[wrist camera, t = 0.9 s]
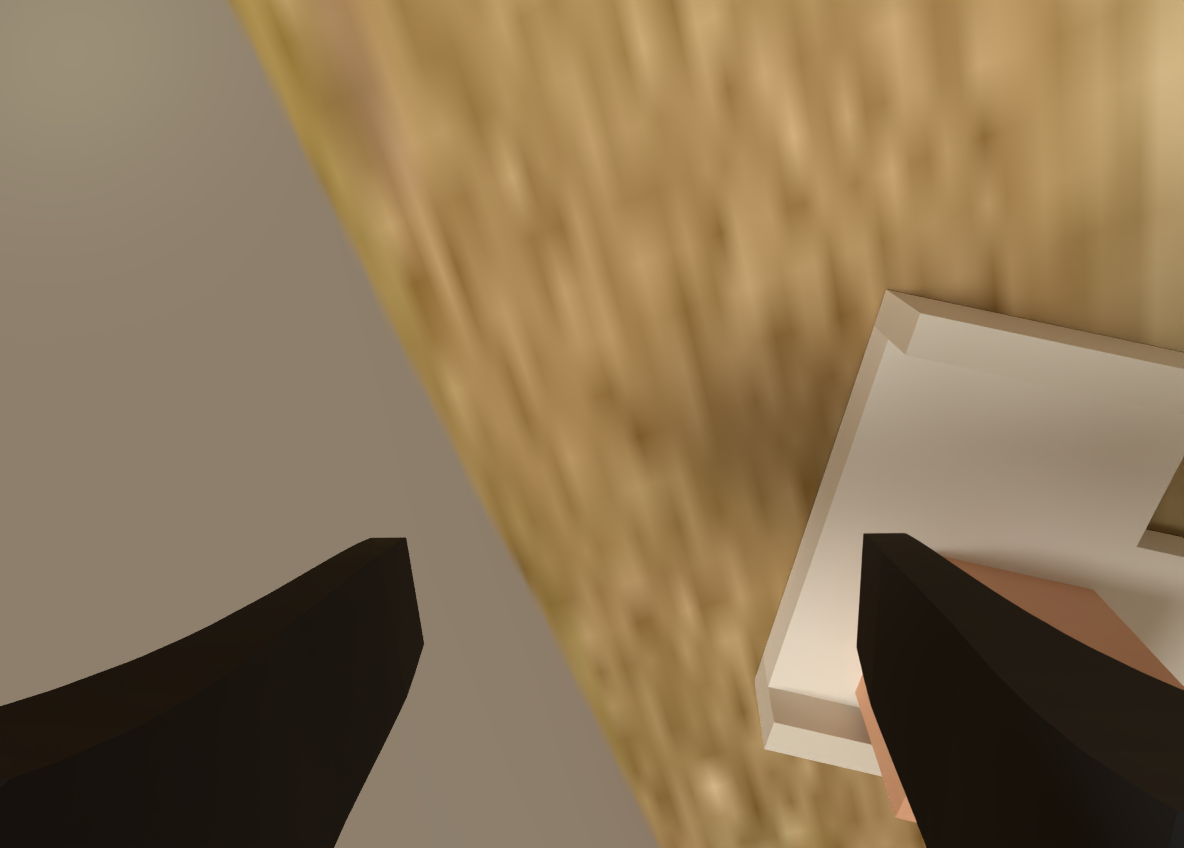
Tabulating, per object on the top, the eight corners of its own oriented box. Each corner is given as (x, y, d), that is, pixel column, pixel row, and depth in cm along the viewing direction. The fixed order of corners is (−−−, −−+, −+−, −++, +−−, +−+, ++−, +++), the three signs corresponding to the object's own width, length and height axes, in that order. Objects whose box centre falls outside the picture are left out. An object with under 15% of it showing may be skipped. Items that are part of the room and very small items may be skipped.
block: (1093, 590, 21) (1199, 703, 16) (1021, 730, 22) (1100, 865, 18) (912, 549, 21) (971, 651, 17) (855, 692, 23) (895, 817, 18)
